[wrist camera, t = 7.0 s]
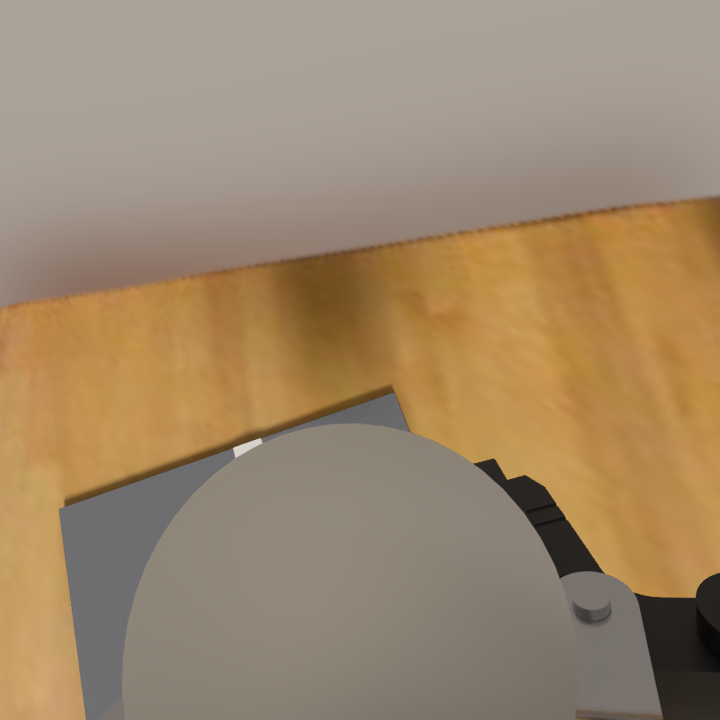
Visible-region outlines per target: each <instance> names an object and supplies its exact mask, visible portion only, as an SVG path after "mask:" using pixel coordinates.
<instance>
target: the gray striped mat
mask: <svg viewBox="0 0 720 720" xmlns="http://www.w3.org/2000/svg"><path fill="white" fill-rule="evenodd" d="M354 423H360V424H369V425H379V426H386V427H390V428H395V429H399V430H403V431H407V432H409V430H408V427H407V424H406V422H405V419H404V417H403V414H402V411H401V409H400V406H399V403H398V401H397V398H396V396H395V393H391V394H388V395H385V396H382V397H379V398H376V399H373V400H371V401H368V402H365V403H362V404H359V405H356V406H353V407H350V408H348V409H345V410H342V411H339V412H336V413H333V414H330V415H327V416H325V417H322V418H319V419H316V420H313V421H310V422H307V423H304V424H302V425H299V426H296V427H293V428H290V429H287V430H284V431H282V432H279V433H276V434H273V435H270V436H267V437H264V438H260V439H257V440H254V441H251V442H248V443H245V444H242V445H239V446H237V447H234V448H233V449H230V450H227V451H224V452H221V453H218V454H215V455H213V456H210V457H207V458H204V459H201V460H198V461H195V462H193V463H190V464H187V465H184V466H181V467H178V468H175V469H172V470H170V471H167V472H164V473H161V474H158V475H155V476H152V477H149V478H147V479H144V480H141V481H138V482H135V483H132V484H129V485H126V486H124V487H121V488H118V489H115V490H112V491H109V492H106V493H104V494H101V495H98V496H95V497H92V498H89V499H86V500H83V501H81V502H78V503H75V504H72V505H69V506H66V507H63V508H60V509H59V514H60V521H61V529H62V537H63V544H64V552H65V560H66V568H67V575H68V583H69V591H70V599H71V606H72V614H73V622H74V630H75V637H76V645H77V653H78V660H79V668H80V676H81V684H82V691H83V699H84V707H85V715H86V720H100V719H101V718H102V716H103V715H104V714H105V713H106V711H107V710H108V709H109V708H110V707H111V706H112V705H113V704H114V703H115V702H116V701H118V700H119V699H120V698H122V697H123V694H122V673H123V652H124V645H125V637H126V630H127V624H128V620H129V616H130V612H131V608H132V604H133V600H134V596H135V593H136V590H137V588H138V585H139V582H140V580H141V577H142V574H143V572H144V569H145V566H146V564H147V562H148V560H149V558H150V556H151V554H152V553H153V551H154V549H155V547H156V545H157V543H158V541H159V539H160V537H161V536H162V534H163V533H164V531H165V530H166V528H167V527H168V525H169V524H170V522H171V521H172V519H173V518H174V516H175V515H176V514H177V512H178V511H179V510H180V509H181V508H182V506H183V505H184V504H185V503H186V502H187V500H188V499H189V498H190V497H191V496H192V494H193V493H194V492H195V491H197V490H198V489H199V488H200V487H201V486H202V485H203V484H204V483H205V482H206V481H207V480H208V479H209V478H210V477H211V476H212V475H213V474H215V473H216V472H217V471H219V470H220V469H221V468H223V467H224V466H225V465H227V464H228V463H229V462H231V461H232V460H233V459H235V458H237V457H238V456H240V455H242V454H243V453H245V452H247V451H249V450H250V449H252V448H254V447H256V446H257V445H260V444H262V443H264V442H267V441H269V440H271V439H274V438H276V437H278V436H281V435H284V434H287V433H291V432H294V431H298V430H301V429H305V428H310V427H316V426H323V425H329V424H354Z"/></svg>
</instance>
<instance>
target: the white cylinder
mask: <svg viewBox="0 0 720 720" xmlns="http://www.w3.org/2000/svg"><path fill="white" fill-rule="evenodd" d="M122 694H123V704H124V715H125V720H575V717H576V709H577V701H578V658H577V649H576V641H575V633H574V626H573V622H572V618H571V614H570V610H569V606H568V602H567V598H566V594H565V592H564V589H563V586H562V584H561V581H560V578H559V576H558V573H557V570H556V567H555V565H554V563H553V561H552V559H551V557H550V555H549V553H548V551H547V549H546V547H545V546H544V544H543V542H542V540H541V538H540V536H539V535H538V533H537V532H536V530H535V529H534V527H533V526H532V524H531V523H530V521H529V520H528V518H527V517H526V516H525V514H524V513H523V511H522V510H521V509H520V508H519V507H518V506H517V504H516V503H515V502H514V501H513V500H512V499H511V497H510V496H509V495H508V494H507V493H506V492H505V491H504V489H502V488H501V487H500V486H499V485H498V484H497V483H496V482H495V481H494V480H492V479H491V478H490V477H489V476H488V475H487V474H486V473H485V472H484V471H482V470H481V469H480V468H478V467H477V466H475V465H474V464H472V463H471V462H470V461H468V460H467V459H465V458H464V457H462V456H461V455H460V454H458V453H456V452H454V451H452V450H450V449H448V448H446V447H445V446H443V445H441V444H439V443H437V442H435V441H432V440H430V439H427V438H424V437H422V436H419V435H416V434H414V433H411V432H407V431H403V430H399V429H395V428H390V427H386V426H379V425H369V424H360V423H354V424H329V425H323V426H316V427H310V428H305V429H301V430H298V431H294V432H291V433H287V434H284V435H281V436H278V437H276V438H274V439H271V440H269V441H267V442H264V443H262V444H260V445H257V446H256V447H254V448H252V449H250V450H249V451H247V452H245V453H243V454H242V455H240V456H238V457H237V458H235V459H233V460H232V461H231V462H229V463H228V464H227V465H225V466H224V467H223V468H221V469H220V470H219V471H217V472H216V473H215V474H213V475H212V476H211V477H210V478H209V479H208V480H207V481H206V482H205V483H204V484H203V485H202V486H201V487H200V488H199V489H198V490H197V491H195V492H194V493H193V494H192V496H191V497H190V498H189V499H188V500H187V502H186V503H185V504H184V505H183V506H182V508H181V509H180V510H179V511H178V512H177V514H176V515H175V516H174V518H173V519H172V521H171V522H170V524H169V525H168V527H167V528H166V530H165V531H164V533H163V534H162V536H161V537H160V539H159V541H158V543H157V545H156V547H155V549H154V551H153V553H152V554H151V556H150V558H149V560H148V562H147V564H146V566H145V569H144V572H143V574H142V577H141V580H140V582H139V585H138V588H137V590H136V593H135V596H134V600H133V604H132V608H131V612H130V616H129V620H128V624H127V630H126V637H125V645H124V652H123V673H122Z"/></svg>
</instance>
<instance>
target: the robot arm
mask: <svg viewBox="0 0 720 720" xmlns="http://www.w3.org/2000/svg"><path fill="white" fill-rule="evenodd" d="M474 465H475V466H477V467H478V468H480V469H481V470H482V471H484V472H485V473H486V474H487V475H488V476H489V477H490V478H491V479H492V480H494V481H495V482H496V483H497V484H498V485H499V486H500V487H501V488H502V489H504V491H505V492H506V493H507V494H508V495H509V496H510V497H511V499H512V500H513V501H514V502H515V503H516V504H517V506H518V507H519V508H520V509H521V510H522V511H523V513H524V514H525V516H526V517H527V518H528V520H529V521H530V523H531V524H532V526H533V527H534V529H535V530H536V532H537V533H538V535H539V536H540V538H541V540H542V542H543V544H544V546H545V547H546V549H547V551H548V553H549V555H550V557H551V559H552V561H553V563H554V565H555V567H556V570H557V573H558V576H559V578H560V581H561V584H562V586H563V589H564V592H565V594H566V598H567V602H568V606H569V610H570V614H571V618H572V622H573V626H574V633H575V641H576V649H577V658H578V701H577V709H576V717H575V720H720V573H718V574H715V575H712V576H710V577H708V578H707V579H705V580H704V581H703V582H702V583H701V584H700V586H699V587H698V589H697V593H696V598H661V597H650V596H644V595H640V594H637V593H634V592H632V590H631V589H630V588H629V587H628V586H627V585H626V584H624V583H623V582H621V581H620V580H618V579H617V578H614V577H612V576H610V575H607V574H605V573H604V572H603V571H602V570H601V568H600V567H599V565H598V564H597V562H596V561H595V559H594V558H593V557H592V555H591V554H590V552H589V551H588V549H587V548H586V546H585V545H584V543H583V542H582V540H581V539H580V538H579V536H578V535H577V533H576V532H575V530H574V529H573V527H572V526H571V524H570V523H569V522H568V520H566V518H565V516H564V514H563V513H562V511H561V510H560V508H559V507H557V505H556V503H555V501H554V500H553V498H552V497H551V495H550V494H549V492H548V491H547V489H546V488H545V487H544V486H542V485H541V484H539V483H537V482H536V481H534V480H532V479H531V478H529V477H527V476H526V475H524V476H520V477H517V478H513V479H509V480H507V479H506V477H505V475H504V474H503V472H502V470H501V469H500V467H499V465H498V464H497V462H496V460H495V459H490V460H486V461H482V462H478V463H474ZM100 720H125V715H124V704H123V697H122V698H120V699H119V700H118V701H116V702H115V703H114V704H113V705H112V706H111V707H110V708H109V709H108V710H107V711H106V713H105V714H104V715H103V716H102V718H101V719H100Z"/></svg>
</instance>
